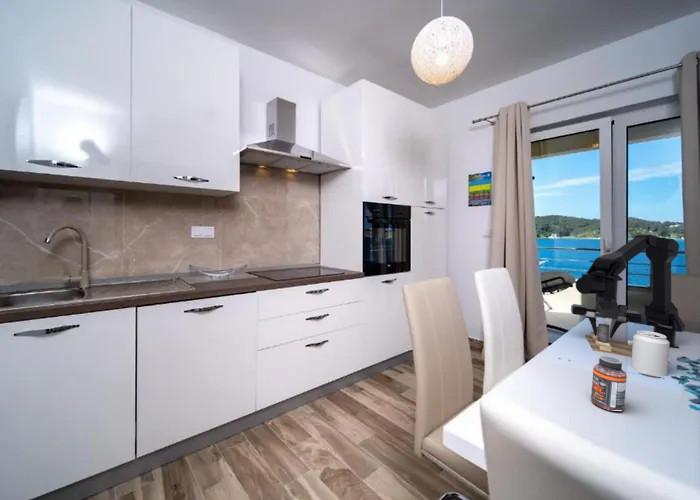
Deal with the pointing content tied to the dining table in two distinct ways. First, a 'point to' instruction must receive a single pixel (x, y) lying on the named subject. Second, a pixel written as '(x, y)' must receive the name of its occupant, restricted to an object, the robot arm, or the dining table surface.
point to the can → (650, 353)
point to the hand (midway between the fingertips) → (603, 336)
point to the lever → (602, 337)
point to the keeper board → (614, 347)
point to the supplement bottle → (609, 384)
